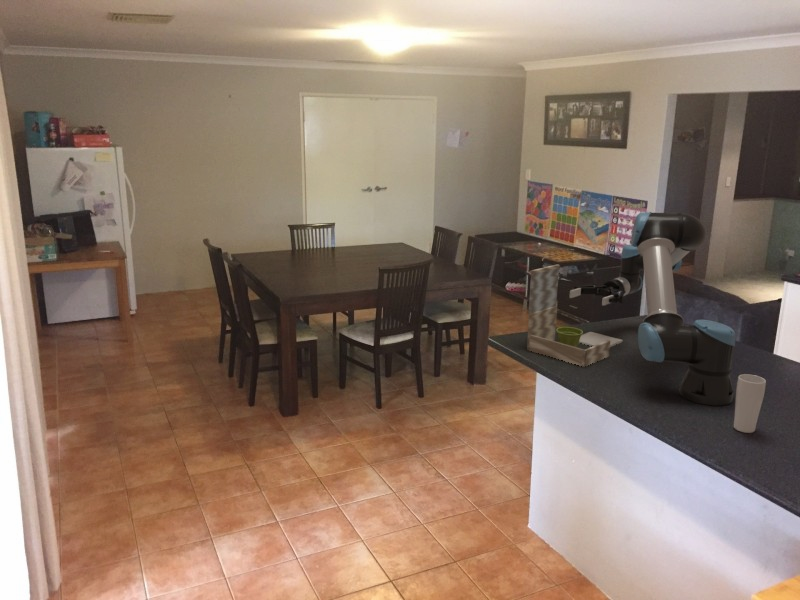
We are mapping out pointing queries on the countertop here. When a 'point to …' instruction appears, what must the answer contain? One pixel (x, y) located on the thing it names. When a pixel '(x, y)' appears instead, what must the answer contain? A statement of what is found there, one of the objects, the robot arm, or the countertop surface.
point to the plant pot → (569, 335)
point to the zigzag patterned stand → (554, 322)
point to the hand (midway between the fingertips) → (586, 298)
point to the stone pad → (597, 339)
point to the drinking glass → (748, 402)
